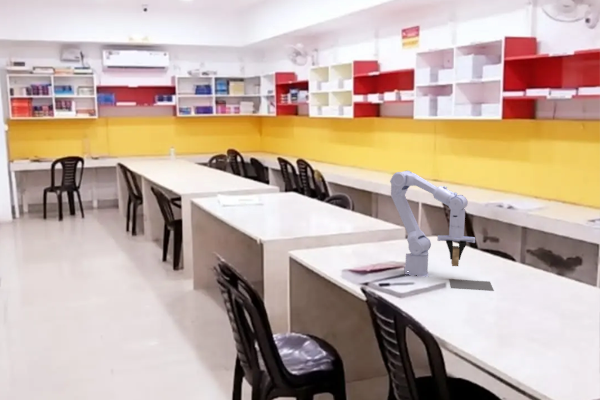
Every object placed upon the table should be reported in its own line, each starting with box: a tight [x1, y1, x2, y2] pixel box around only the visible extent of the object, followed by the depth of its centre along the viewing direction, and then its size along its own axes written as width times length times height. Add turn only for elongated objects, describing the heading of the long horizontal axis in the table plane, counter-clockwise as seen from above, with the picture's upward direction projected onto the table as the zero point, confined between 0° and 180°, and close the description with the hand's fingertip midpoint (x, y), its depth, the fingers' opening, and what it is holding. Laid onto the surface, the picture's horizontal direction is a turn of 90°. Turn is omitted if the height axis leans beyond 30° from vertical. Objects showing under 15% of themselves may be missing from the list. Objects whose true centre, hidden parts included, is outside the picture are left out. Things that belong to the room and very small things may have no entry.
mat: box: [448, 278, 495, 292], centre depth 238 cm, size 16×13×1 cm
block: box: [450, 245, 460, 267], centre depth 244 cm, size 2×5×7 cm, turn 170°
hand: (455, 259), depth 244 cm, fingers closed on block, 2 cm apart
